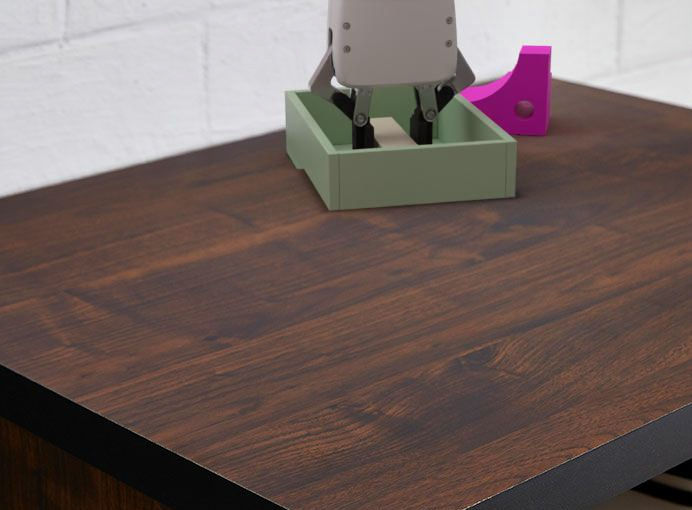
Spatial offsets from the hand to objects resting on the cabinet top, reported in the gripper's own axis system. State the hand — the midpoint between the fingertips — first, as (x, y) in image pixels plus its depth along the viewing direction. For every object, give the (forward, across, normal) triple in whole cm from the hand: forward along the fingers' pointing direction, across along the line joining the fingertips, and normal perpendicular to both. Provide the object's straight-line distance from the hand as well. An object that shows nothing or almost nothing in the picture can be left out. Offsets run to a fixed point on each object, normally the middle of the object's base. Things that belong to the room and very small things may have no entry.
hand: (392, 165), depth 116 cm
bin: (+1, 0, 0) cm, 1 cm away
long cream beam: (+1, 0, 0) cm, 1 cm away
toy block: (+1, -11, -16) cm, 20 cm away
